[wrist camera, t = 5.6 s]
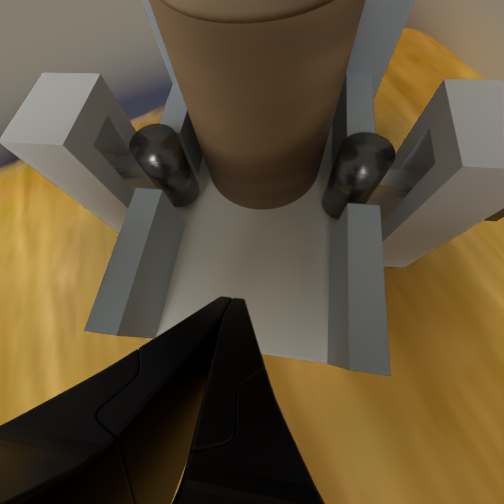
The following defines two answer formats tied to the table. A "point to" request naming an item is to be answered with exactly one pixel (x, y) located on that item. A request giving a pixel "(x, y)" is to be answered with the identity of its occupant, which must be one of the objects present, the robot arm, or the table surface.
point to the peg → (260, 87)
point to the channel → (271, 220)
